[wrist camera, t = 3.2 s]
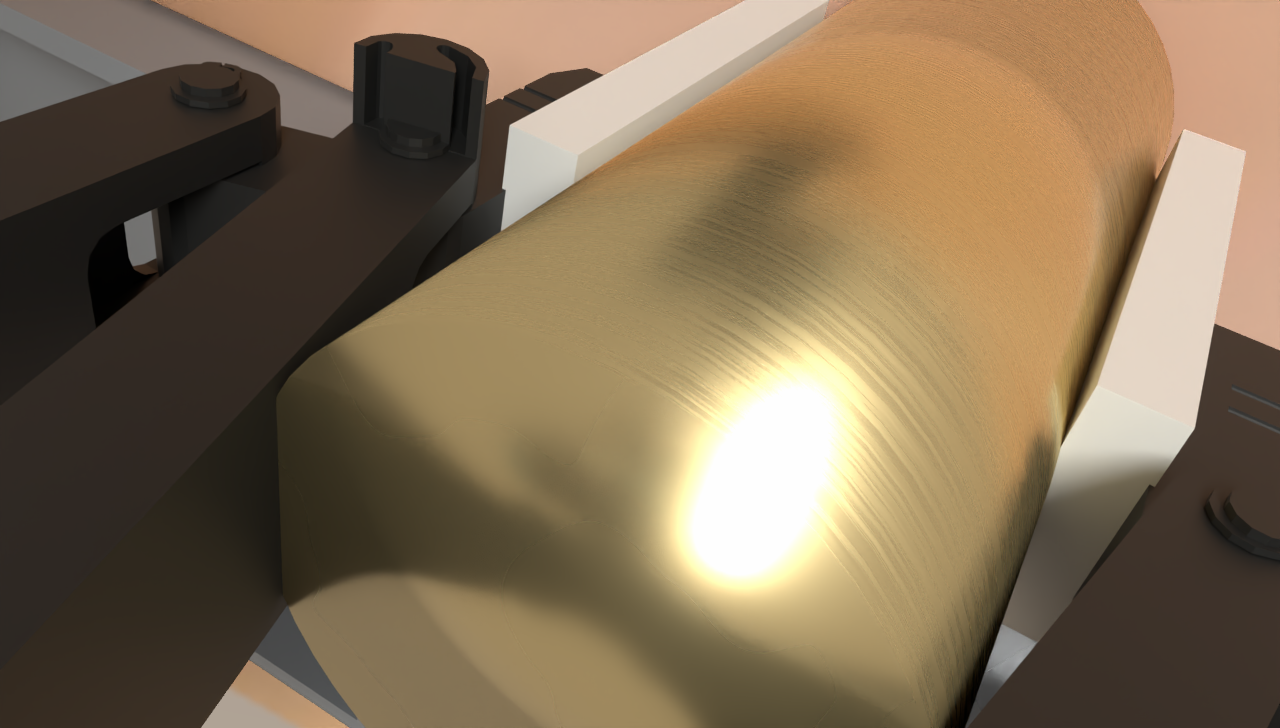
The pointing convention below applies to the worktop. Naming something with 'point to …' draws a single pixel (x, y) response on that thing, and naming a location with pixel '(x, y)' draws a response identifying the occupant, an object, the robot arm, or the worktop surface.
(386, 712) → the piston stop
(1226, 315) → the worktop surface
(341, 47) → the worktop surface
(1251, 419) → the robot arm
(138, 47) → the tray
